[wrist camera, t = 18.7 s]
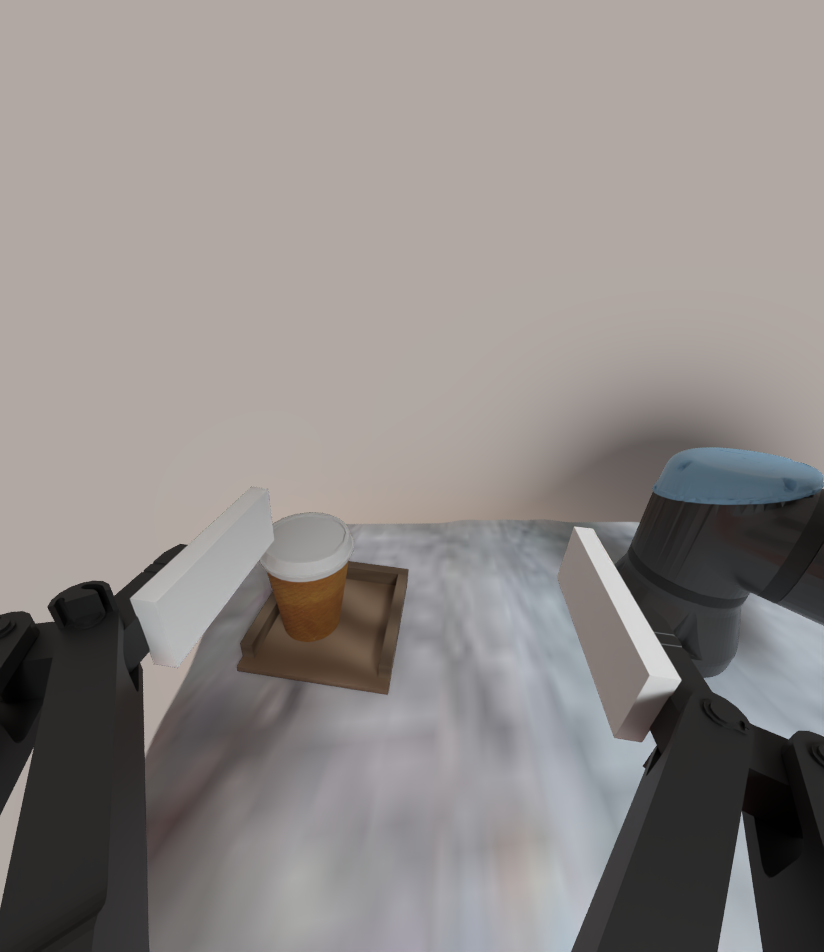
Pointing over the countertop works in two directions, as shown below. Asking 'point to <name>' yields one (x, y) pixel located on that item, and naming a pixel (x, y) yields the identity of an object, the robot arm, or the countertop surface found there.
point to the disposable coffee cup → (309, 572)
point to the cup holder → (336, 636)
